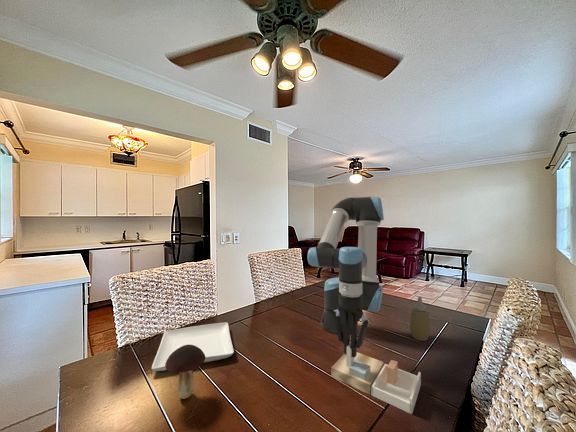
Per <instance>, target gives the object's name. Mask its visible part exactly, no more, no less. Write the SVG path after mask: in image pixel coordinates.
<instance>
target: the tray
mask: <svg viewBox="0 0 576 432" xmlns="http://www.w3.org/2000/svg"><path fill="white" fill-rule="evenodd" d="M388 365H389V364H388V363H384V366H383V367H382V369H381V371H380V373H379V374H378V376H377V378H376V379H375V381H374V383H373V384H372V386H371V394H370V395H371V396H372V397H374V398H377V399H379V400H380V401H382V402H385V403H387V404H389V405H391V406H393V407H395V408H398V409H400V410H401V411H404V412H405V413H407V414H410V415H413V412H414V410H415V406H416V402H417V400H418V397H419V396H418V395H419V393H420V389H421V386H422V373H421V372H420V371H418V374H417V375H416V374H413V373H410V372H409V371H406V370H403V369H400V368H398V378H397V380H396V382H395V384H394V385H391V384H389V383H387V366H388Z"/></svg>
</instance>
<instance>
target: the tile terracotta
mask: <svg viewBox="0 0 576 432" xmlns="http://www.w3.org/2000/svg"><path fill="white" fill-rule="evenodd" d="M387 365H388V366H387V383H389V384H391V385H394V384H395V382H396V380H397V378H398V369H399V362H398V361H397V360H393V359H391V360H390V361H389V363H388V364H387Z"/></svg>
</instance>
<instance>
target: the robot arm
mask: <svg viewBox="0 0 576 432" xmlns="http://www.w3.org/2000/svg"><path fill="white" fill-rule="evenodd" d="M382 202H383V201H382V199H381V197H379V196H363V197H362V196H360V197H359V196H358V197H346V198H344V199H342V200H340V201H338V202H337V203H336V204H335V205H334V206H333V207H332V209H331V210H330V212H329V220H328V222H327V224H326V226H325V229H324V231H323V233H322V235H321V237H320V240H319V241H318V242H319V243H318V245H317V246H314V247H309V249H308V251H307V262H308V264H309V266H311V267H315V268H316V267H318V268H327V269H337V270H338V277H331V278H328V279H327V280H326V281H324V289H323V292H324V293H323V294H324V311H323V313H322V317H321V320H320V326H321V329H323V330H324V331H325V332H327V333H331V334H337V339H338V341H339V342H341V343H342V344H343V354H346V366H347V367H350V366H351V365H352V364H353V363H354V358H355V357H356V355H357V352H358V351H357V349H360V348H361V347H362V346H363V344H364V340H365V336H366V333H367V328H368V325H369V324H370V323H371V322H372V321H371V318H369V317H368V318H367V316H365V315H364V311H367V312H374V313H375V312H376V313H377V312H379V310H380V308H381V305H382V299H383V298H382V297H383V292H384V287H383V286H382V285H380V281H379V279H378V278H377V252H378V251H377V245H378V244H377V240H378V227H379V226H380V225H381V221H384V210H383V204H382ZM348 221H355V225H357V226H358V239H357V246H343V247H340V248H337V247H338V244H339V241H340V238H341V235H342V232H343V230H344V226H345V225H346V223H348ZM360 320H361V322H360V323H361V326H360V328H359V332H358V326H359V325H358V323H359V321H360Z"/></svg>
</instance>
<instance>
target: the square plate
mask: <svg viewBox="0 0 576 432" xmlns="http://www.w3.org/2000/svg"><path fill="white" fill-rule="evenodd" d="M184 345H194V346H197V347H198V348H200V349H201V350H202V351H203V353H204V354H205V360H204V362H203V363H208V362H213V361H214V362H215V361H219V360H225V359H228V358H229V357H231V356H232V355H233V354H234V353H235V349H234V347H233V342H232V338H231V332H230V327H229V323H228V321H226V322H219V323H218V322H216V323H208V324H201V325H200V324H199V325H194V326H188V327H187V326H186V327H181V328H176V329H168V330H166V331H164V332H163V335H162V338H161V340H160V343H159V347H158V349H157V352H156V355H155V357H154V359H153V362H152V365H151V370H152V371H155V372H160V371H168V370H167V369H166V367H165V363H166V361H167V359H168V357H169V356H170V355H171V354H172V353H173V352H174V351H175V350H177V349H178V348H180V347H182V346H184Z"/></svg>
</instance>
